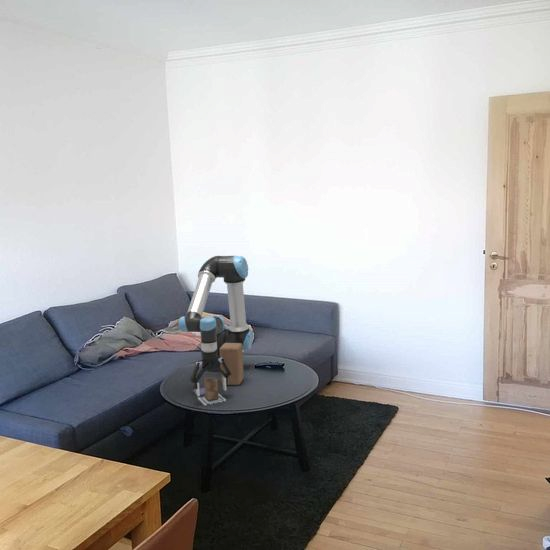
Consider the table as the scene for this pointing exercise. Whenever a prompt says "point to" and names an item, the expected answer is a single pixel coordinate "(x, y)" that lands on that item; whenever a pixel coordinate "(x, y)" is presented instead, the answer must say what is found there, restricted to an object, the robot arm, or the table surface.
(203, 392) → the ink pad
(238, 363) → the wooden block
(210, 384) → the stamp
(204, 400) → the print card
